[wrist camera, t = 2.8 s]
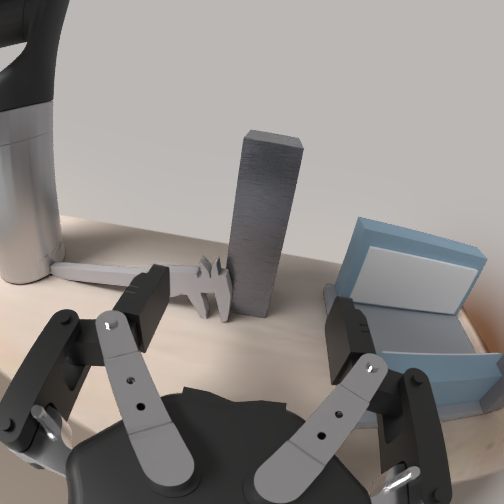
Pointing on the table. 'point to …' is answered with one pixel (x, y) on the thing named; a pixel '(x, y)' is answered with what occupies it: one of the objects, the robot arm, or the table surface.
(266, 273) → the steel block
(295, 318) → the table surface
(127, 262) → the table surface
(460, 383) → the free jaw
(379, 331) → the vise base
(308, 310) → the table surface
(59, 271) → the caliper
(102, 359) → the robot arm
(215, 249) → the table surface
